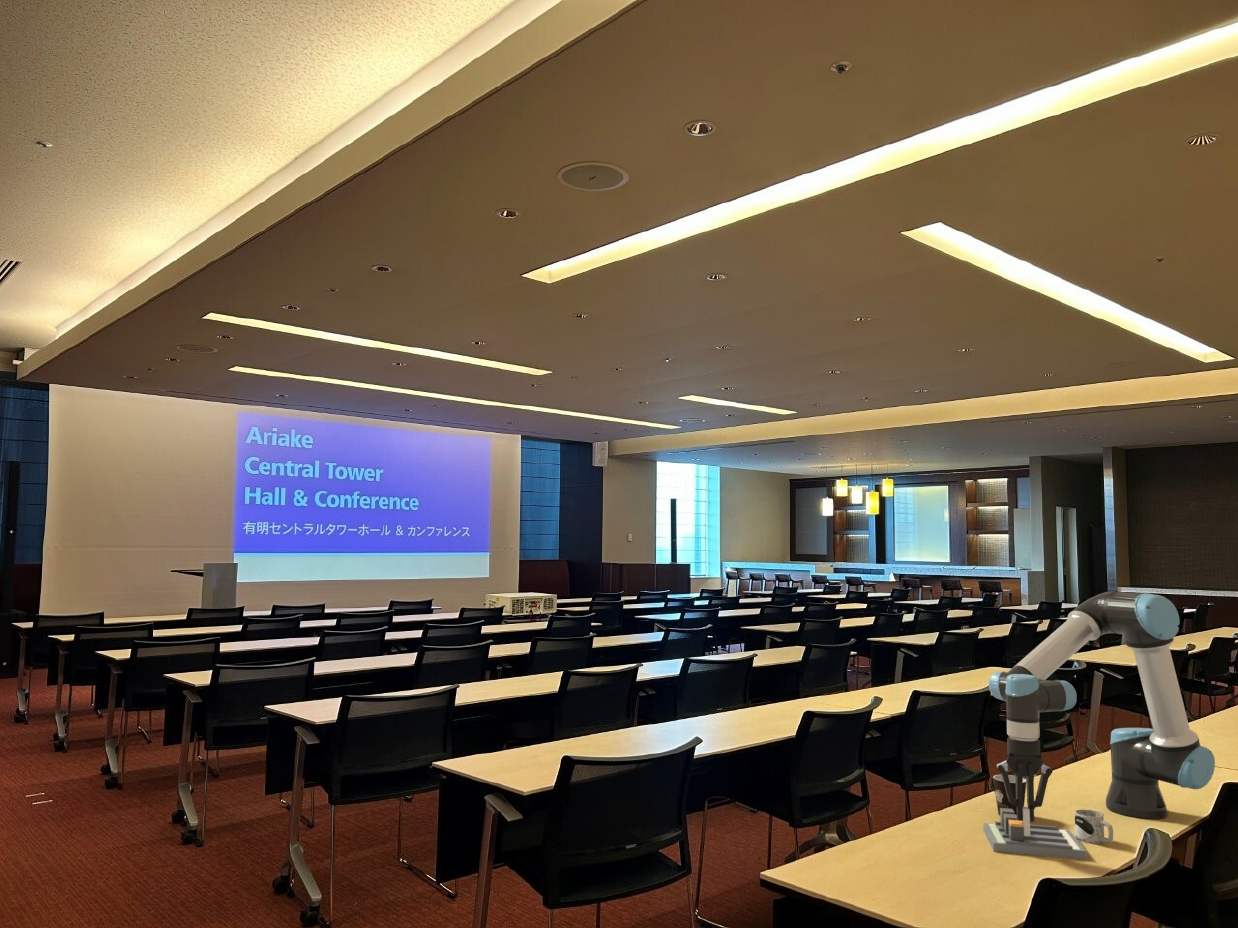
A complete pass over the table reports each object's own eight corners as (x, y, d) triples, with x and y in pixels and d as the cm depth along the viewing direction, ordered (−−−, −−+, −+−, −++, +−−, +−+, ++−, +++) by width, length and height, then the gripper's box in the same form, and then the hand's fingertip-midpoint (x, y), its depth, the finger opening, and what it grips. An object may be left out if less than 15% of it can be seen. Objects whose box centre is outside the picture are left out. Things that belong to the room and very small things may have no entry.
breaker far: (1012, 826, 232) (1012, 808, 233) (1015, 830, 229) (1014, 812, 230) (1000, 825, 233) (999, 807, 233) (1002, 829, 230) (1002, 811, 230)
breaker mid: (1016, 832, 227) (1015, 814, 228) (1018, 836, 224) (1018, 818, 225) (1003, 831, 228) (1003, 813, 228) (1006, 835, 225) (1005, 817, 225)
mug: (1069, 837, 231) (1068, 810, 232) (1087, 833, 234) (1086, 807, 234) (1103, 849, 222) (1102, 822, 222) (1122, 846, 225) (1121, 819, 225)
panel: (1069, 837, 230) (1069, 827, 230) (1086, 859, 215) (1086, 848, 215) (983, 830, 235) (983, 820, 235) (993, 851, 220) (993, 839, 220)
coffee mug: (1031, 821, 244) (1030, 783, 244) (997, 818, 245) (996, 781, 246) (1020, 808, 255) (1019, 772, 256) (988, 806, 257) (988, 770, 258)
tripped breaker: (1021, 839, 222) (1021, 820, 223) (1024, 843, 219) (1023, 824, 220) (1008, 838, 223) (1008, 819, 224) (1011, 842, 220) (1010, 823, 220)
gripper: (1048, 735, 225) (1050, 831, 223) (993, 732, 228) (995, 827, 226) (1055, 742, 218) (1057, 841, 216) (998, 739, 221) (1000, 836, 219)
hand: (1025, 834), depth 221 cm, fingers closed
